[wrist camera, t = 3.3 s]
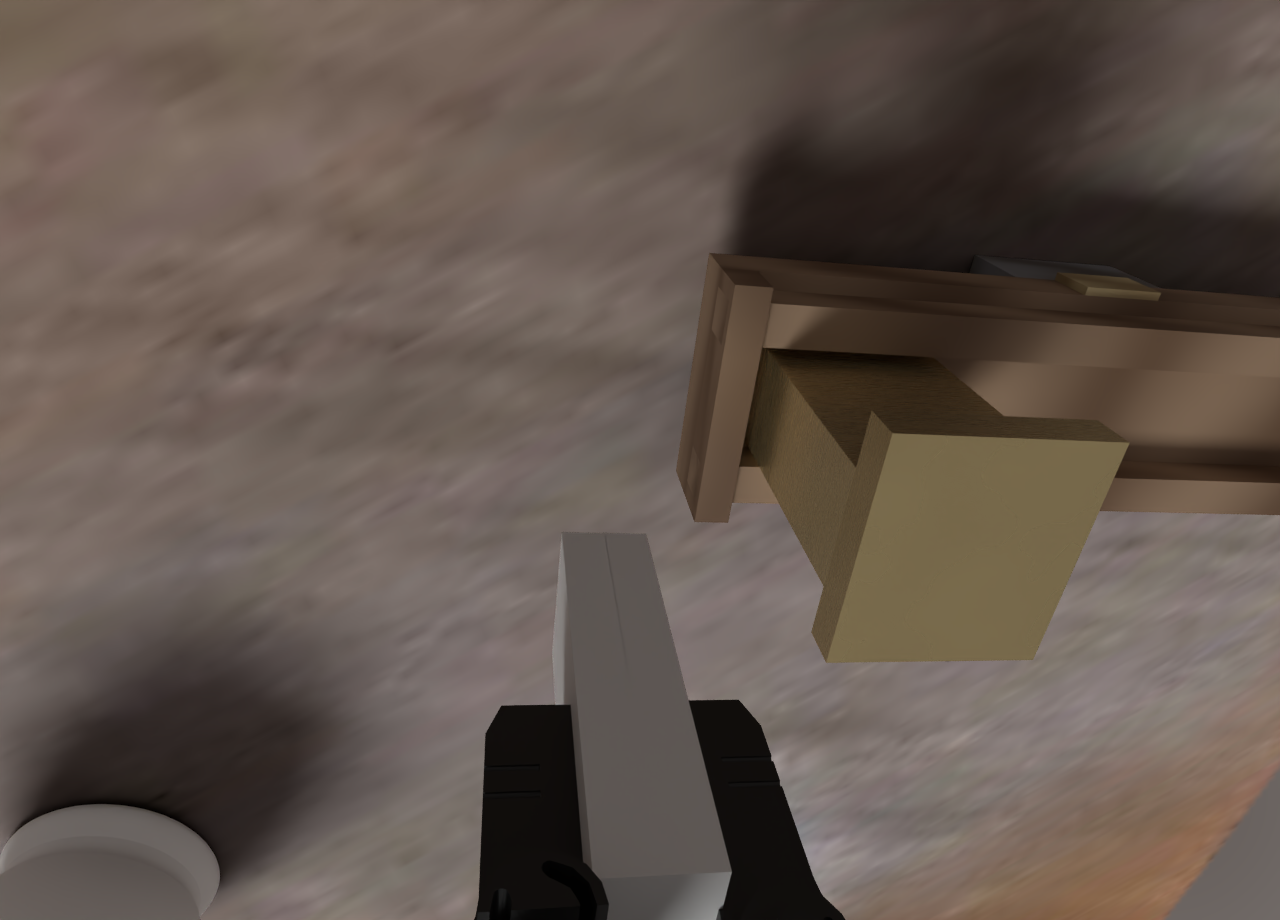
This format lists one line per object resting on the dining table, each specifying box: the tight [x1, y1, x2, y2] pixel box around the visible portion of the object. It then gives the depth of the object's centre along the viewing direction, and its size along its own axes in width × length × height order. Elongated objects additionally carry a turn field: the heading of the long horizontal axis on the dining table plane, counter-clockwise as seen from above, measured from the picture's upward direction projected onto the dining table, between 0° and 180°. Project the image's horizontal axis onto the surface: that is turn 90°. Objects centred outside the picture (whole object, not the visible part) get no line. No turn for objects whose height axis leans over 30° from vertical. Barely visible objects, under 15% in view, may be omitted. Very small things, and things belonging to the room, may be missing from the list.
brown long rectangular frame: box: [676, 253, 1280, 523], centre depth 26 cm, size 24×8×6 cm, turn 84°
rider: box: [745, 347, 1129, 663], centre depth 20 cm, size 5×6×8 cm
